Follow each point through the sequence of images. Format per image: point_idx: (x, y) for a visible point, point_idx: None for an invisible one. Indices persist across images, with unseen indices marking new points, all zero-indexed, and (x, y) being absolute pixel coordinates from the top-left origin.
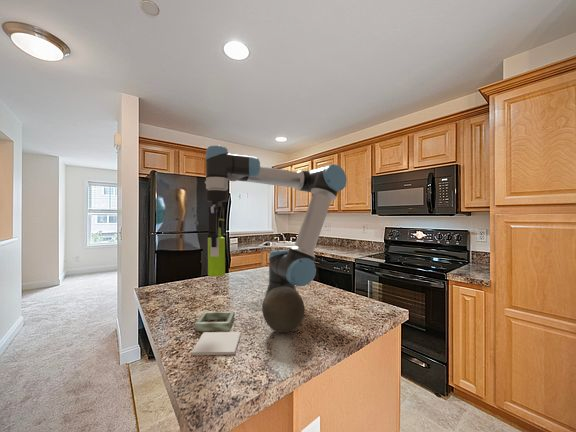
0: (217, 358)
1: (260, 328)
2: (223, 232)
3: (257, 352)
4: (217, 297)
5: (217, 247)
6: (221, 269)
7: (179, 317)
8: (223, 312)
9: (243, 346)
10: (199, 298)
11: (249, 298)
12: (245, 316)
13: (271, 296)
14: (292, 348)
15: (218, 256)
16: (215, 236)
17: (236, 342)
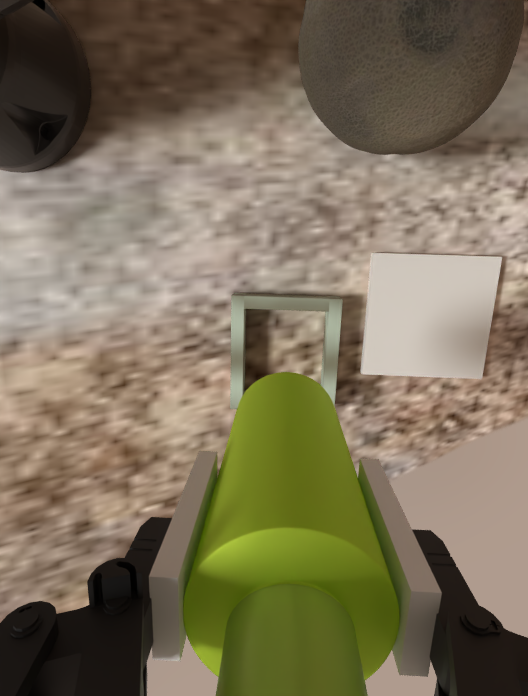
0: (507, 302)
1: (331, 183)
2: (55, 620)
3: (498, 186)
4: (9, 395)
5: (399, 516)
6: (325, 399)
7: None
8: (240, 336)
9: (453, 235)
10: (28, 462)
11: (9, 252)
12: (219, 251)
13: (479, 76)
14: None
15: (376, 459)
16: (509, 638)
17: (445, 258)
